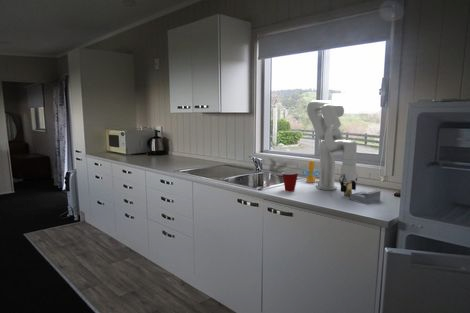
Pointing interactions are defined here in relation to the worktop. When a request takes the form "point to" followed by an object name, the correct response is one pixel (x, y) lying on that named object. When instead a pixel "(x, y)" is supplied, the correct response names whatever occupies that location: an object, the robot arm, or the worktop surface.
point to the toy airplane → (311, 172)
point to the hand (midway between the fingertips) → (348, 190)
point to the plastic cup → (290, 180)
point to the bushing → (348, 189)
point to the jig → (366, 196)
